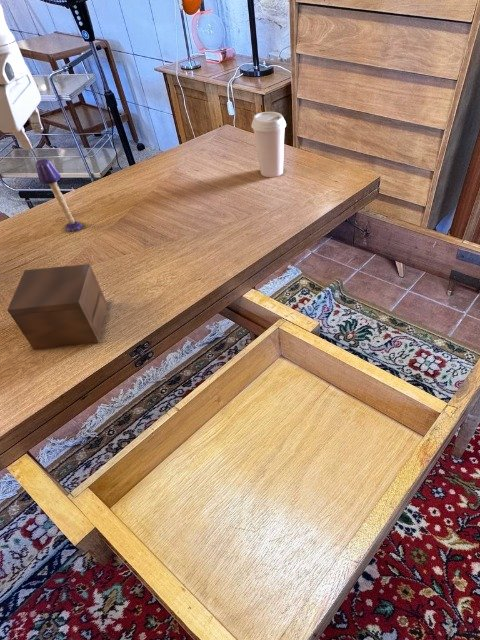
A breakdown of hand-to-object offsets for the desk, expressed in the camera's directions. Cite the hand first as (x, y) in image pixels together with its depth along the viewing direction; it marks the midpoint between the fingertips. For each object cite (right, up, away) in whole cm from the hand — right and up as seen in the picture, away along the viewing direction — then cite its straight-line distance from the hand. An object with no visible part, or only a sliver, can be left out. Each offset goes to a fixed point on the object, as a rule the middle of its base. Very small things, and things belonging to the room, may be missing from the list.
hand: (34, 140), depth 96 cm
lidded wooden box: (+13, -42, -8) cm, 45 cm away
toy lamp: (0, -14, +16) cm, 21 cm away
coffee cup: (+49, +10, +35) cm, 61 cm away
